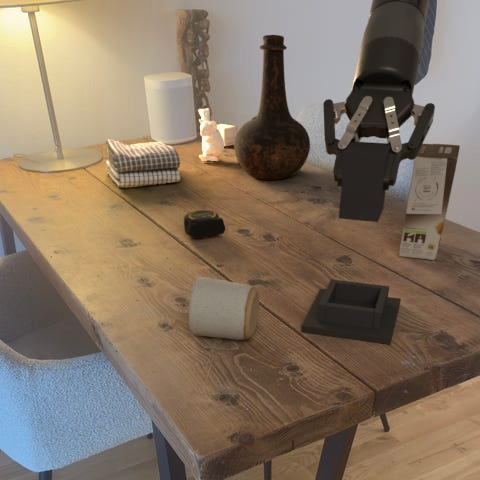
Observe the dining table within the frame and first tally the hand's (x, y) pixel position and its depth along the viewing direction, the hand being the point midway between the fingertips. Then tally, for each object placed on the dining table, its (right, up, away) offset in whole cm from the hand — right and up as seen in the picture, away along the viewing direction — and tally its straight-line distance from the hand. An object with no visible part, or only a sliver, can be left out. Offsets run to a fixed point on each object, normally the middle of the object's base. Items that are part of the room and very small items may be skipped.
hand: (362, 184), depth 69 cm
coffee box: (+16, +1, +29) cm, 34 cm away
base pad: (+1, -14, +10) cm, 18 cm away
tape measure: (-22, +6, +36) cm, 43 cm away
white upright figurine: (-23, +40, +78) cm, 91 cm away
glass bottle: (-7, +31, +67) cm, 74 cm away
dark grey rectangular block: (+1, -2, +4) cm, 5 cm away
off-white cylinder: (-17, -17, +9) cm, 25 cm away
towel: (-39, +30, +67) cm, 83 cm away
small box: (-20, +51, +92) cm, 107 cm away
